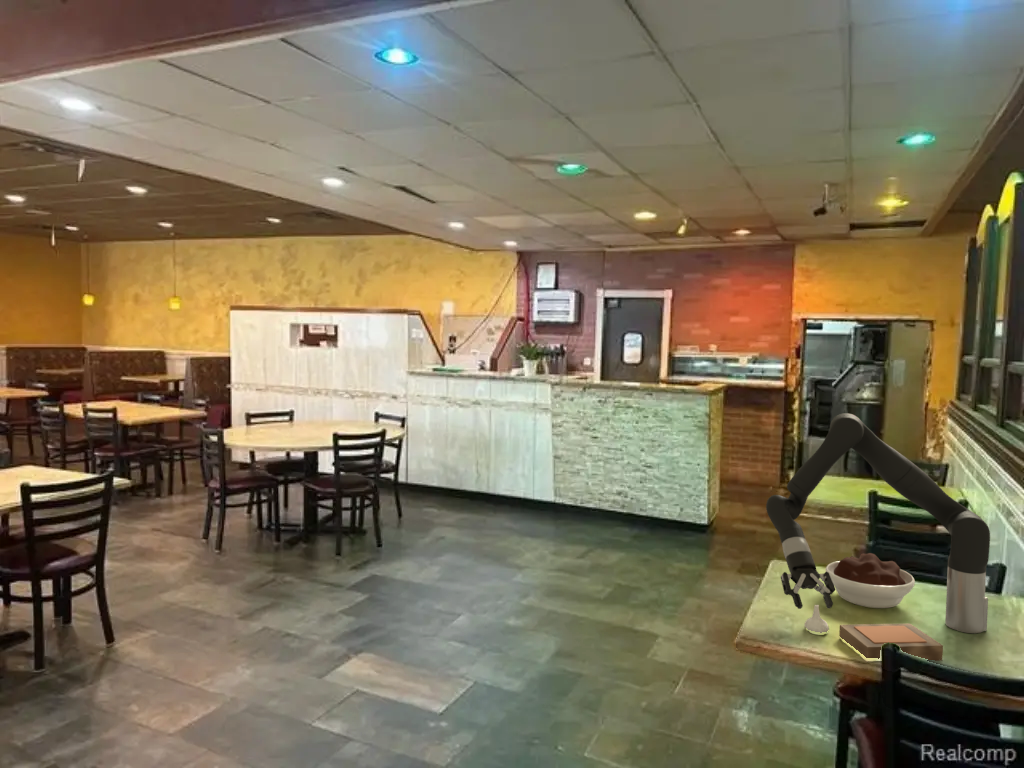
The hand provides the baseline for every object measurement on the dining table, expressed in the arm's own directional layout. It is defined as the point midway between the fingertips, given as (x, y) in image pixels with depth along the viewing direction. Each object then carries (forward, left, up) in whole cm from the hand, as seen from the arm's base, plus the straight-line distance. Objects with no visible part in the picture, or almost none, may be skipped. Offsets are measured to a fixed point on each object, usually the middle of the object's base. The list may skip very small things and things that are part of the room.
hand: (815, 607), depth 199 cm
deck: (-14, +13, -7) cm, 20 cm away
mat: (-14, +13, -3) cm, 19 cm away
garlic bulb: (0, +1, -7) cm, 7 cm away
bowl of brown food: (-27, -20, -7) cm, 34 cm away
